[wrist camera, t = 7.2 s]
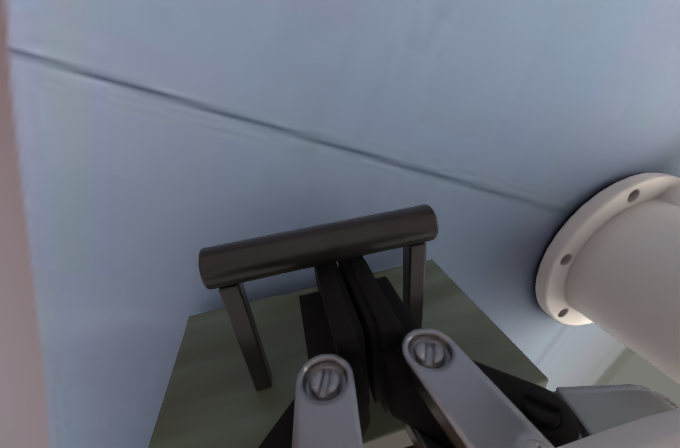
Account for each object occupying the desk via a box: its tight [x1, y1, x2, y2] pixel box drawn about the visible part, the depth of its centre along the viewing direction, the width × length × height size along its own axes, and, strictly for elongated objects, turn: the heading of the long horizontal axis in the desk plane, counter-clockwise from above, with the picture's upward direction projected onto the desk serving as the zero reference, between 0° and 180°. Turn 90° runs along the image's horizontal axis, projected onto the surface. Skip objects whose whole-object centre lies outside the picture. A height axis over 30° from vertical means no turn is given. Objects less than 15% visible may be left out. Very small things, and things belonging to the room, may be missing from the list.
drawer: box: [149, 204, 548, 448], centre depth 14 cm, size 20×13×8 cm
